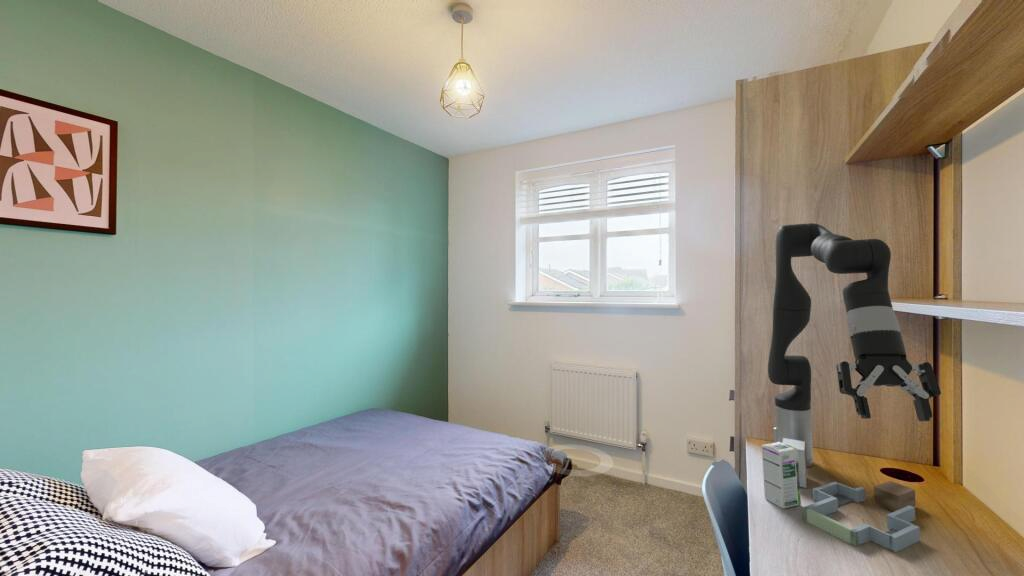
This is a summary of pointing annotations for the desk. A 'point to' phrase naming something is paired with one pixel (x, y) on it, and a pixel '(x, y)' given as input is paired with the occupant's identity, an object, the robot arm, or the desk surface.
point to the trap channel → (893, 539)
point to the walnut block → (894, 496)
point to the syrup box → (781, 474)
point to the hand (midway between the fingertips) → (894, 419)
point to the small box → (799, 458)
